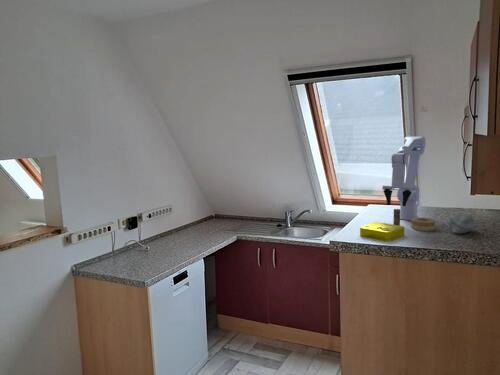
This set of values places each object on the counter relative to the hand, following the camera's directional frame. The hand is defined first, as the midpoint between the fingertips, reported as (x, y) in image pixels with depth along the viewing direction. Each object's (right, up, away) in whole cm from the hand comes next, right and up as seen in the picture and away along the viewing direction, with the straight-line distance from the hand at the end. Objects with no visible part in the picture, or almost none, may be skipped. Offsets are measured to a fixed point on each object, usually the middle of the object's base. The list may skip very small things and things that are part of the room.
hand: (396, 205), depth 200 cm
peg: (+1, -10, +2) cm, 10 cm away
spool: (+25, -12, -14) cm, 31 cm away
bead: (+11, -11, -5) cm, 16 cm away
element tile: (-12, -13, -16) cm, 24 cm away
